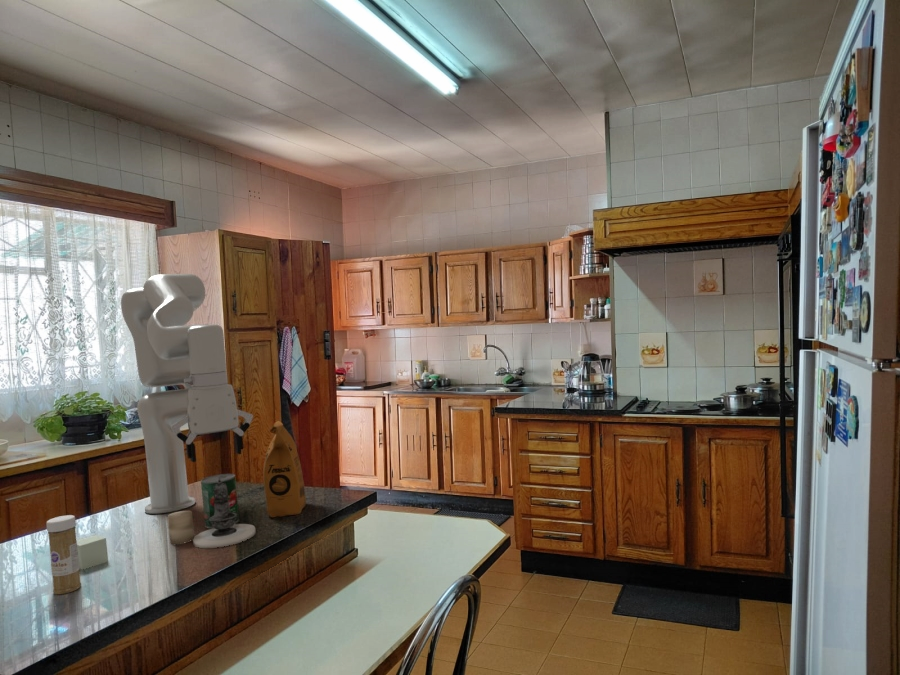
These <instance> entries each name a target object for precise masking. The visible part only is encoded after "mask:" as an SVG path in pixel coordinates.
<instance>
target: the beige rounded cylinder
mask: <svg viewBox="0 0 900 675" xmlns="http://www.w3.org/2000/svg"><path fill="white" fill-rule="evenodd" d="M193 521H194V519H193V512H192V510H178V511H174V512H171V513H170V514H168V515H167V523H168V534H169V543H171V545H174V544H177V545H181V544H180V543H183V544H185V543H184V542H187V543H189V542H188V541H190V540H192V539H193V538H194V537H195V529H194V522H193ZM192 541H193V540H192ZM190 542H191V541H190Z"/></svg>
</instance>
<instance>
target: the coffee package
mask: <svg viewBox="0 0 900 675" xmlns="http://www.w3.org/2000/svg"><path fill="white" fill-rule="evenodd" d="M269 432H270V433H271V434H274V435H273V438H272V439H271V441H270V442H269V446H268V448H267V450H266V454H265V458H264V463H263V469H262V470H263V472H262V474H263V475H262V476H263V477H262V478H263V490H264V495H265V497H264V498H265V502H266V510H267V511H266V512H267V514H268V516H270V517H271V518H275V517H281V518H283V517H286V516H293V515H300V514H301V513H302V511H303V509H305V506H306V493H305V482H304V478H303V476H304V475H303V471H302V464H301V461H300V457H299V453H298V451H297V450H298V449H297V445H296V442H295V441H294V439H293V437H292V435H291V434H290V433H289V432H288V430H287V429H286V428H285V427H284V424H283V422H281V421H280V420H277V421H276V422H274V423H273V426H272V427H271V429H270V431H269Z"/></svg>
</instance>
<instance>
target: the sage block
mask: <svg viewBox="0 0 900 675" xmlns="http://www.w3.org/2000/svg"><path fill="white" fill-rule="evenodd" d="M76 541H77V549H78V559H79V568H80V569H79V570H81V569H82V570H81V571H83V569H84V570H86V568H87V569H89V567H90V568H93V567H96V566H98V565H101V563H102V564H104V563H107V562H109V555H108V545H107V538H106V537H104V536H100V535H98V534H94V535H90V536H87V537H84V538H81V539H76ZM92 566H93V567H92Z"/></svg>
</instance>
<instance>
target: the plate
mask: <svg viewBox="0 0 900 675" xmlns="http://www.w3.org/2000/svg"><path fill="white" fill-rule="evenodd" d="M231 527H233V528H235V529H237V531H236V532H235V533H233V534H230V535H226V536H220V537H215V536H212V533H213V532H214V531H216V530H218V529H215V528H208V529H206V530H204V531H201V532H199V533H198V534H196V535H194V538H193V540H192V543H193V546H194V545H195V547H196V548H198V547H199V548H198V549H217V547H219V548H223V547H224V546H225V547H229V545H230V546H233V544H234V545H237V544H240V543H243V542H245V541H247V539H248V540H250V539H251V538H252V537H254V536H255V535H256V527H255V525H253V524H250V523H235V524H233V525H232V526H231ZM242 541H243V542H242ZM225 547H224V548H225Z"/></svg>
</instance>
